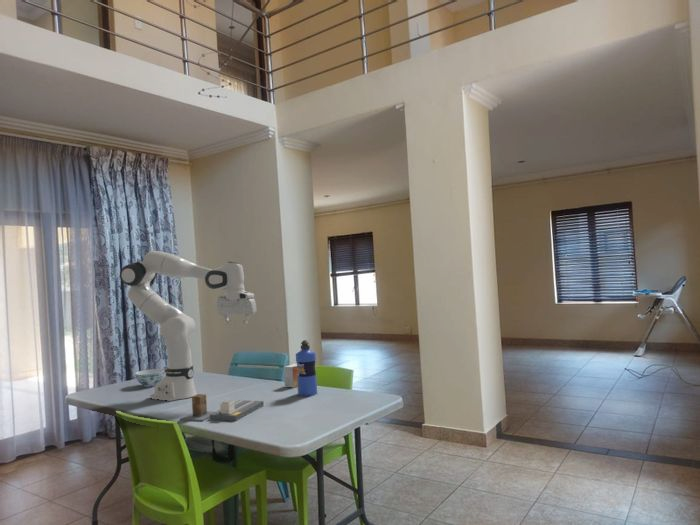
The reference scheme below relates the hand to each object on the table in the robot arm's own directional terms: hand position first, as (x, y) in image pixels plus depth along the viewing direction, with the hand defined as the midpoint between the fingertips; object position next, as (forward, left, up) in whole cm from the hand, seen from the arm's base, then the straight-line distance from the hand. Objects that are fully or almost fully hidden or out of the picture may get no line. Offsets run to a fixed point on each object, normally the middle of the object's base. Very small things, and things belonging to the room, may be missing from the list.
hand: (237, 324), depth 235 cm
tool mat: (+2, -34, -34) cm, 48 cm away
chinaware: (-65, +13, -34) cm, 75 cm away
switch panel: (+15, -26, -34) cm, 45 cm away
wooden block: (+2, -34, -34) cm, 48 cm away
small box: (+18, +21, -34) cm, 44 cm away
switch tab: (+15, -33, -32) cm, 48 cm away
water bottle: (+32, +7, -34) cm, 47 cm away
